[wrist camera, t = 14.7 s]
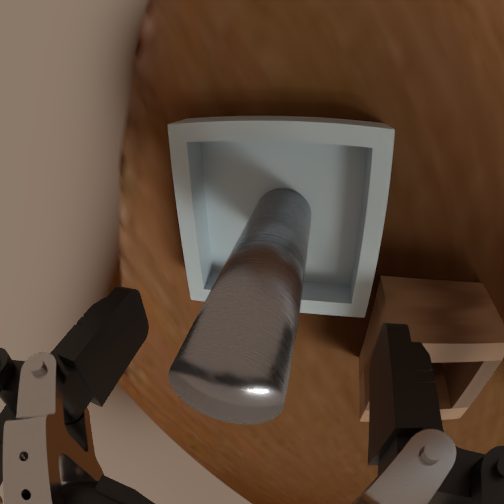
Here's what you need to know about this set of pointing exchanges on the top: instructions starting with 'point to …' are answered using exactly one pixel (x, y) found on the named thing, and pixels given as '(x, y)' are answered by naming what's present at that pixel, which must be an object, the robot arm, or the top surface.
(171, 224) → the top surface
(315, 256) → the tray
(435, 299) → the square hollow tube
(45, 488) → the robot arm
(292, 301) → the pin
